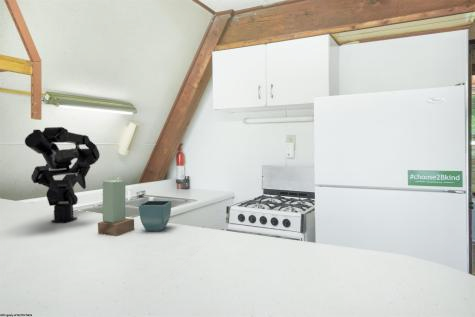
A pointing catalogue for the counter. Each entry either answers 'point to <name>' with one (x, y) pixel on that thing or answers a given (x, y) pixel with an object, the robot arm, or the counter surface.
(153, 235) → the counter surface
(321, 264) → the counter surface
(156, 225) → the flower pot
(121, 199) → the sage pillar
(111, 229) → the walnut block
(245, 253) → the counter surface
